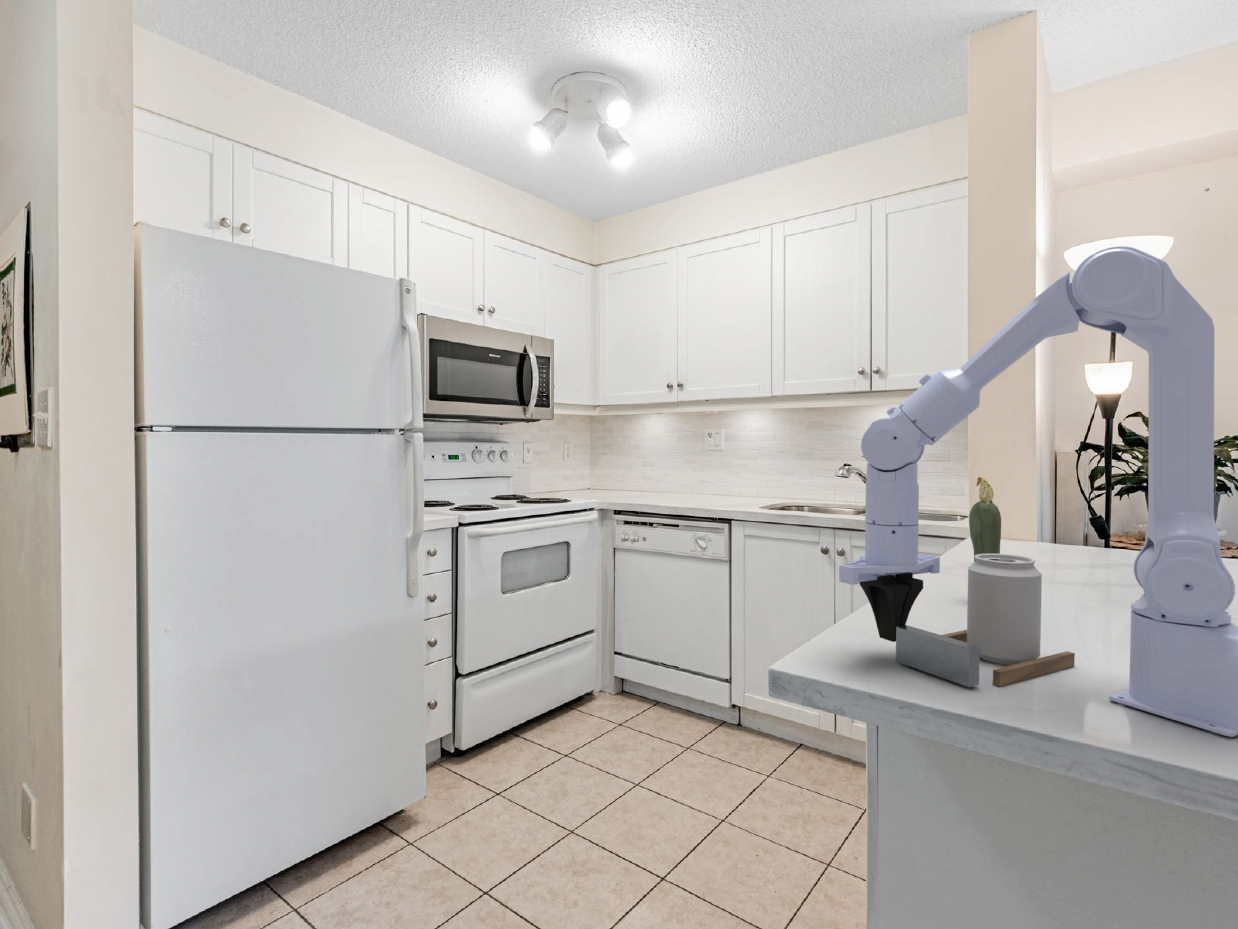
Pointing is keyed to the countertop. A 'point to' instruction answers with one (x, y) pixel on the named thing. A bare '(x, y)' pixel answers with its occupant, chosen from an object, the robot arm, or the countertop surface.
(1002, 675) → the pair of wooden slats
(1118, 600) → the countertop surface
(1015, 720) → the countertop surface
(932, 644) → the bar
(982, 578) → the can
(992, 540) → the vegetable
